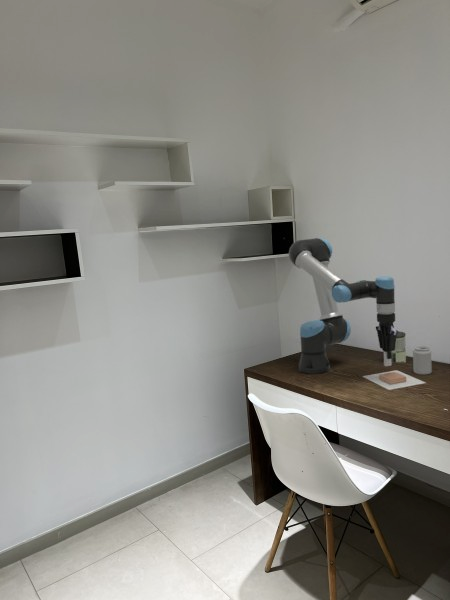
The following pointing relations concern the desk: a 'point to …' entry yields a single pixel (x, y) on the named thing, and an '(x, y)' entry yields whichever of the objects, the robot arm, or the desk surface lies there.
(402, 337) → the coffee can
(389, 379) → the tile
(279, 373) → the desk surface
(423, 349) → the can
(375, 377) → the mat
